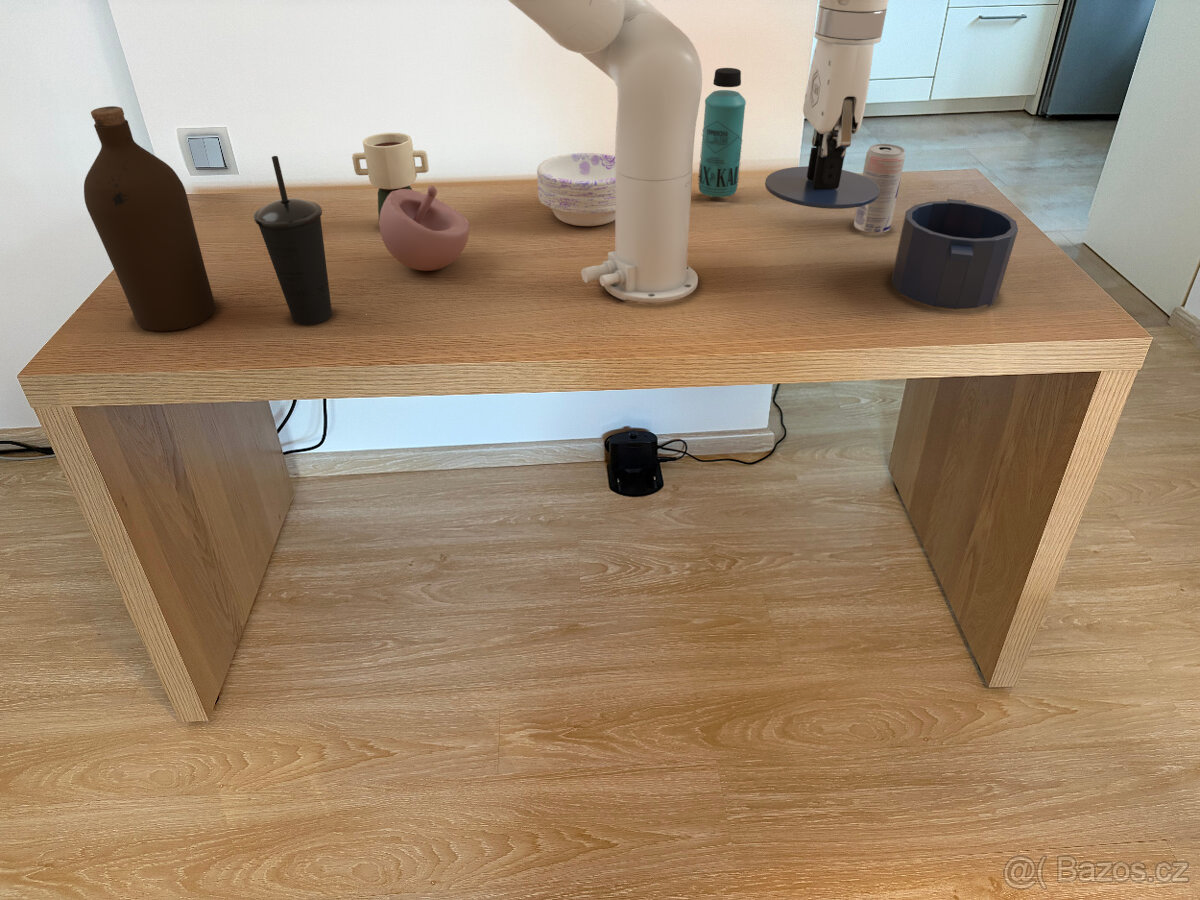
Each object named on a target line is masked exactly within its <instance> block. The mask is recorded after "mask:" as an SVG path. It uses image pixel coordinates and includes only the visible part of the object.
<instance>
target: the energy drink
mask: <svg viewBox="0 0 1200 900" xmlns="http://www.w3.org/2000/svg"><path fill="white" fill-rule="evenodd" d="M905 151H906V150H905V148H903V147H902V146H900V145H896V144H890V143H876V144H872V145H870V146H869V147H868V149H867V151H866V154H865V159H864V165H863V170H862V176H864V177H866V178H868V179H870V180H872V181H873V182H875V183H876V184H877V185H878V187H879V191H880V192H879V196H878V198H877V199H876V200H875V201H874V202H872V203H870V204H867V205H864V206H860V207H856V210H855V216H854V220H853V227H854V228H855V229H856V230H858V231H861V232H864V233H871V234H882V233H886V232H889V231H890V230H891V226H892V223H893V217H894V212H895V207H896V203H897V198H898V193H899V189H900V183H901V178H902V174H903V170H904V164H905V160H906V152H905Z"/></svg>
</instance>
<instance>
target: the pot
mask: <svg viewBox="0 0 1200 900" xmlns="http://www.w3.org/2000/svg"><path fill="white" fill-rule="evenodd" d="M1018 231H1019V227H1018V223H1017V220H1015V219H1014V218H1012V217H1011V216H1010V215H1009V214H1007V213H1005V212H1002V211H1000V210H997V209H995V208H992V207H991V206H986V205H982V204H977V203H973V202H967V200H962V199H954V198H953V199H952V198H946V200H938V201H937V200H936V201H925V202H922V203H918V204H914V205H912V206H911V207H909V208H908V209H906V210H905V213H904V218H903V223H902V228H901V232H900V237H899V241H898V245H897V251H896V255H895V261H894V265H893V269H892V274H891V285H892V286H893V287H894V289H896V291H897V292H898V293H900V294H901V295H903V296H905V297H907V298H908V299H910V300H912V301H915V302H918V303H921V304H925V305H929V306H931V307H937V308H946V309H953V310H961V309H976V308H980V307H983V306H986V305H987V308H989V307H991V306H992V305H993V304H994V303H995V302H996V301H997V298H998V297H999V295H1000V291H1001V288H1002V284H1003V282H1004V278H1005V274H1006V272H1007V268H1008V264H1009V262H1010V258H1011V255H1012V252H1013V249H1014V245H1015V241H1016V238H1017V235H1018Z"/></svg>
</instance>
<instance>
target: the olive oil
mask: <svg viewBox="0 0 1200 900" xmlns="http://www.w3.org/2000/svg"><path fill="white" fill-rule="evenodd" d="M90 115H91V117H92V120H93V121H94V125H93V127H94V129H95V132H96V134H97V137H98V140H99V142H100V144H101V145H100V150H99V152H98V154H97V156H96V158H95V159H94V161H93V163H92V165H91V166H90V167H89V169H88V172H87V173H86V175H85V178H84V183H83V197H84V204H85V207H86V210H87V212H88V214H89V216H90V219H91V221H92V223H93V225H94V227H95V229H96V232H97V234H98V235H99V238H100V240H101V243H102V245H103V247H104V250H105V252H106V254H107V256H108V259H109V262H110V263H111V266H112V268H113V270H114V272H115V275H116V277H117V279H118V282H119V283H120V286H121V288H122V290H123V293H124V295H125V297H126V300H127V303H128V305H129V308H130V310H131V312H132V315H133V317H134V319H135V322H136V324H137V325H138V326H139V327H140V328H142V329H144V330H146V331H151V332H174V331H179V330H184V329H188V328H191V327H194V326H197V325H198V324H201V323H203V322H205V321H206V320H207V319H209V318H211V316H212V315H213V314H214V313H215V311H216V302H215V297H214V295H213V291H212V288H211V284H210V281H209V277H208V274H207V270H206V266H205V261H204V258H203V254H202V249H201V247H200V243H199V237H198V234H197V231H196V227H195V223H194V219H193V213H192V210H191V207H190V202H189V199H188V194H187V191H186V188H185V185H184V184H183V182H182V180H181V179H180V177H179V176H178V173H176V171H175V170H174V169H173V167H171V166H170V165H169V164H167V162H165V161H163V160H162V159H161V158H159V157H157V156H156V155H154V154H153V153H152V152H150V151H148V150H147V149H145V148H144V147H142V146H140V145H139V144H138V143H137V142H136V141H135V140H134V137H133V134H132V130H131V128H130V123H129V120H128V119H126V118H125V113H124V110H123V107H120V106H117V105H116V106H114V105H113V106H110V105H109V106H102V107H98V108H94V109H93V110H91V111H90Z"/></svg>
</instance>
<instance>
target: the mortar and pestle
mask: <svg viewBox="0 0 1200 900" xmlns="http://www.w3.org/2000/svg"><path fill="white" fill-rule="evenodd" d="M437 195H438V189H437V187H435V186H434V185H429V186H428V187H427V192H426V193H423V192H421V191H418V190H414V189H412V190H409V189H399V190H396V191H392V192H391V193H390V194H389V195H388V196H387V198H386V200H385V202H384V204H383V206H382V209H381V212H380V218H379V217H378V225H379V232H380V236H381V240H382V242H383V244H384V246H385V248H386V250H387V251H388V252H389V254H390V255H391V256H392V257H393V258H394V259H395V260H396V261H397V262H398V263H401V264H402V265H404V266H406V267H407V268H410V269H413V270H416V271H423V272H430V271H436V270H437V271H438V270H441V269H443V268H446V267H447V266H449V265H451V264H452V263H454V262H455V261H456V260H457V259H458V258H459V257H460V256H461V254H462V253H463V252H464V250H465V248H466V245H467V243H468V241H469V235H470V222H469V221H468V220H467V218H466V217H465V216H464V215H463V214H462V213H461V212H459V211H458V210H456V209H455V208H453V207H452V206H450V205H448V204H447V203H445V202H443V201H442V200H440V199H439V198H436V196H437Z"/></svg>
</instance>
